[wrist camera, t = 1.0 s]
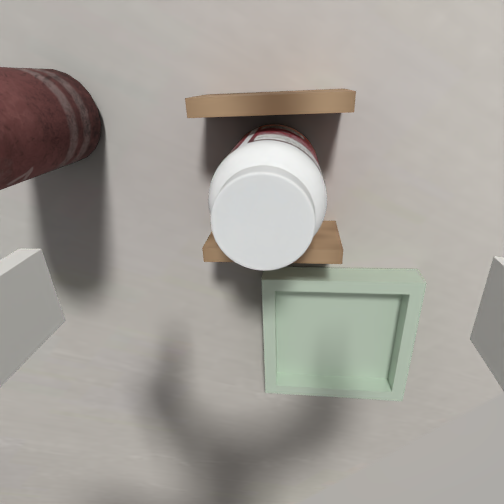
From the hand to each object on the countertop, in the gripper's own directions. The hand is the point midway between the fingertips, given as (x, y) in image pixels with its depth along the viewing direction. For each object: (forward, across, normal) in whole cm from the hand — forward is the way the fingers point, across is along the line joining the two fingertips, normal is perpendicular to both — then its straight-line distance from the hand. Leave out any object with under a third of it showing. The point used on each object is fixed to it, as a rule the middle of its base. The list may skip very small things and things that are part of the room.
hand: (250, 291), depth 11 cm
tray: (+16, +5, -14) cm, 22 cm away
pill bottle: (+16, 0, 0) cm, 17 cm away
